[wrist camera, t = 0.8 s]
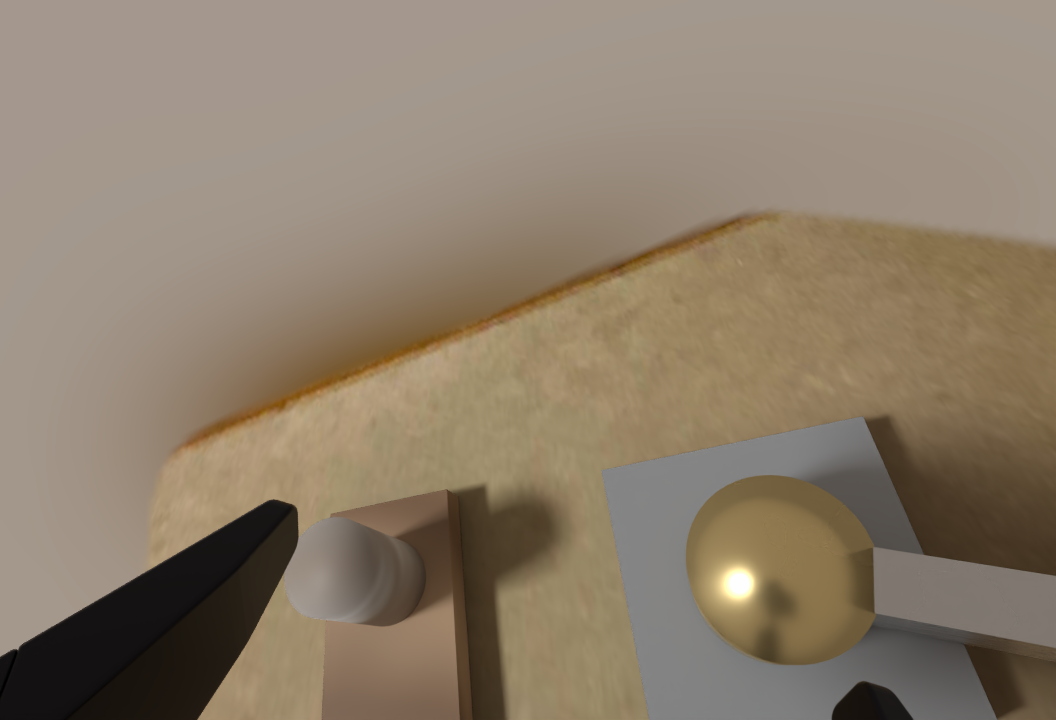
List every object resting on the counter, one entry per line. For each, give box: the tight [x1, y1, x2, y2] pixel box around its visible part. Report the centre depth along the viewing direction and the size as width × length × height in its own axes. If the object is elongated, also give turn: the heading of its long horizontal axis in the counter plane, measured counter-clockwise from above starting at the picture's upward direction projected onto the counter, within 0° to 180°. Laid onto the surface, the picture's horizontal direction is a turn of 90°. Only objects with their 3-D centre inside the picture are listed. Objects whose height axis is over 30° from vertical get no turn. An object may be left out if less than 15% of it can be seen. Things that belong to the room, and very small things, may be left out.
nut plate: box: [601, 416, 997, 720], centre depth 19 cm, size 9×9×1 cm
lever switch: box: [686, 475, 1056, 665], centre depth 15 cm, size 15×5×3 cm, turn 77°
